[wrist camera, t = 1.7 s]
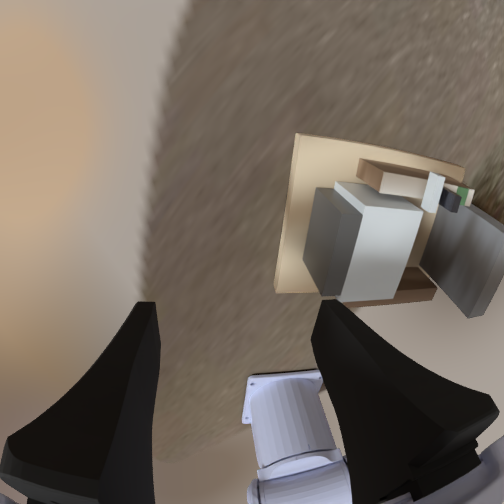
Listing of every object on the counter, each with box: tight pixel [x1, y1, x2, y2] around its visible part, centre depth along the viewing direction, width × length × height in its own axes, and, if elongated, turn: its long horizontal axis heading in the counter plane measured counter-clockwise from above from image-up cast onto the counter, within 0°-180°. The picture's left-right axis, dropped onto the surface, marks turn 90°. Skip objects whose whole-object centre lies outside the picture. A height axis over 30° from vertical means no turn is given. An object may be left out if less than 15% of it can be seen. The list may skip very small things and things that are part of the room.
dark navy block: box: [438, 186, 462, 213], centre depth 15 cm, size 1×1×2 cm, turn 174°
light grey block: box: [302, 172, 445, 302], centre depth 17 cm, size 8×6×4 cm
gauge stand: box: [274, 133, 504, 318], centre depth 18 cm, size 11×14×8 cm
